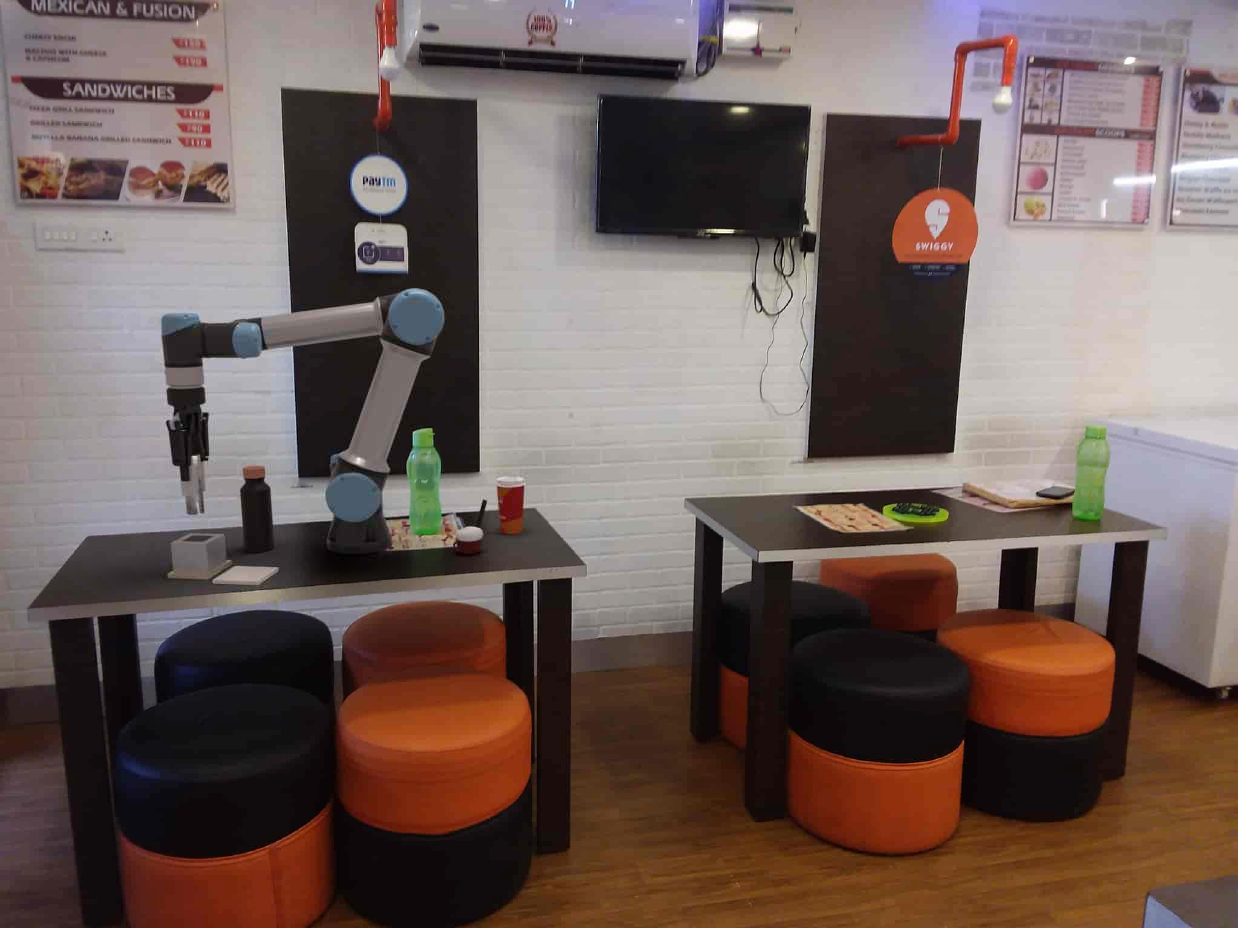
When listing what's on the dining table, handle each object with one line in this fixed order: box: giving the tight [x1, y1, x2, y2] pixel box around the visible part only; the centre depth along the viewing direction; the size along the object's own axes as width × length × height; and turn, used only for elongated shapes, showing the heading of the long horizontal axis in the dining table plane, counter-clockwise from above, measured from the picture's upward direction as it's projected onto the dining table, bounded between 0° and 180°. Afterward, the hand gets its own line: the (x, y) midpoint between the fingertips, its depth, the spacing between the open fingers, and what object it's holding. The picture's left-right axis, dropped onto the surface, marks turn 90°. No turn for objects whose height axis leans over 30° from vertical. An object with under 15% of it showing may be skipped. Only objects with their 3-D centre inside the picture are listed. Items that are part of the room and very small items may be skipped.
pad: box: [212, 565, 279, 586], centre depth 206 cm, size 10×10×1 cm
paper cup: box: [495, 476, 527, 536], centre depth 242 cm, size 8×8×14 cm
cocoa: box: [452, 499, 488, 556], centre depth 224 cm, size 10×6×12 cm, turn 111°
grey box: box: [166, 532, 233, 581], centre depth 211 cm, size 9×16×8 cm, turn 175°
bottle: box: [239, 465, 275, 553], centre depth 225 cm, size 7×7×20 cm
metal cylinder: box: [184, 453, 206, 516], centre depth 206 cm, size 4×4×13 cm
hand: (194, 492), depth 206 cm, fingers closed on metal cylinder, 3 cm apart
